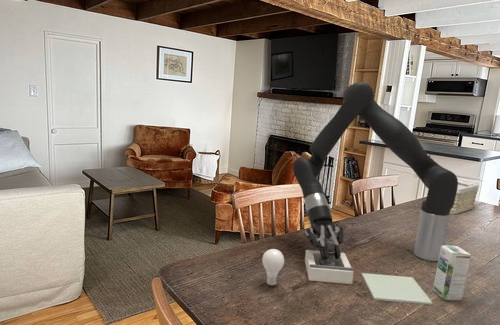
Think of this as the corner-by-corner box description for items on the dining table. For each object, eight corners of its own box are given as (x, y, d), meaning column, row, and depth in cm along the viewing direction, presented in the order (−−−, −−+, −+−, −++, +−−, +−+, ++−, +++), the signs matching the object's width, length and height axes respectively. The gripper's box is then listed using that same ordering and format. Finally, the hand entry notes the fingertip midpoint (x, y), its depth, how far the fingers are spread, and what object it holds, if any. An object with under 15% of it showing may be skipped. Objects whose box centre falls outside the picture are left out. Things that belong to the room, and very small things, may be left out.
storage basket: (455, 216, 179) (460, 188, 177) (424, 206, 192) (428, 181, 190) (475, 209, 193) (480, 184, 190) (446, 201, 206) (450, 177, 203)
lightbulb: (284, 282, 104) (287, 247, 102) (279, 292, 98) (282, 256, 96) (264, 277, 106) (266, 243, 104) (257, 287, 100) (260, 252, 98)
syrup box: (431, 289, 105) (439, 244, 102) (450, 290, 106) (458, 245, 103) (443, 300, 99) (452, 253, 97) (463, 300, 100) (472, 254, 97)
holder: (343, 264, 118) (344, 250, 117) (351, 284, 105) (353, 269, 104) (304, 260, 119) (306, 247, 118) (308, 280, 106) (310, 265, 105)
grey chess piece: (336, 277, 109) (340, 241, 106) (317, 274, 110) (321, 239, 107) (336, 268, 114) (339, 234, 112) (317, 266, 115) (321, 232, 113)
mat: (412, 279, 111) (412, 277, 111) (432, 304, 97) (432, 302, 97) (361, 274, 111) (361, 273, 111) (374, 299, 98) (374, 297, 98)
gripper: (302, 204, 113) (316, 256, 104) (341, 203, 117) (357, 253, 108) (294, 214, 119) (307, 264, 110) (331, 213, 123) (346, 261, 114)
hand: (332, 258), depth 109 cm, fingers closed on grey chess piece, 3 cm apart
